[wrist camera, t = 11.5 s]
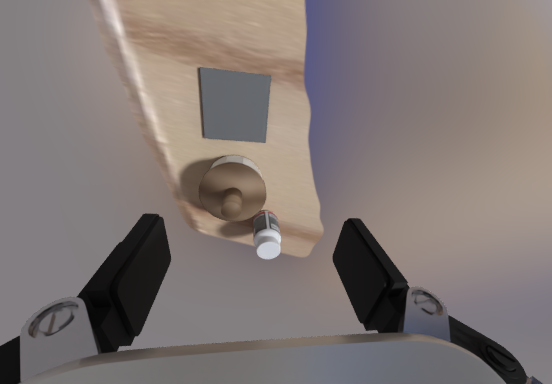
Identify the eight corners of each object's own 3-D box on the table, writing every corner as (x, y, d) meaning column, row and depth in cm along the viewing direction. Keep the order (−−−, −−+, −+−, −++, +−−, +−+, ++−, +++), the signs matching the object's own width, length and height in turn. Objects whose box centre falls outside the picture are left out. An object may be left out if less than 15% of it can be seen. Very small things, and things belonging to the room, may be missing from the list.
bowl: (206, 153, 39) (200, 162, 34) (264, 156, 40) (265, 166, 36) (209, 201, 44) (204, 215, 40) (260, 203, 46) (261, 216, 41)
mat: (200, 67, 32) (200, 67, 31) (270, 75, 34) (270, 75, 33) (205, 137, 37) (204, 138, 37) (265, 141, 39) (265, 142, 38)
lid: (197, 160, 34) (187, 175, 29) (268, 164, 36) (271, 179, 31) (202, 217, 40) (195, 239, 35) (263, 218, 42) (265, 239, 37)
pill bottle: (253, 229, 49) (253, 262, 41) (252, 210, 46) (252, 240, 38) (277, 228, 50) (282, 260, 41) (277, 209, 47) (283, 239, 38)
